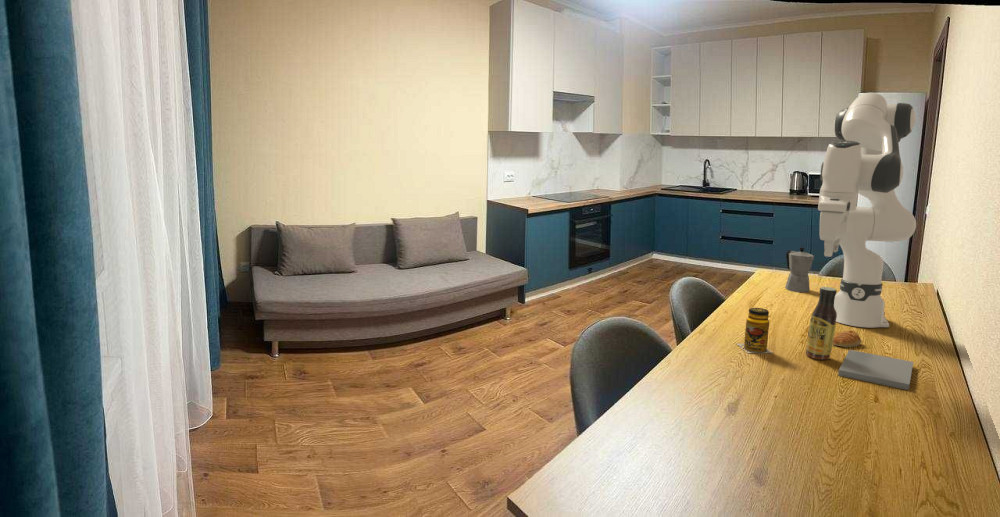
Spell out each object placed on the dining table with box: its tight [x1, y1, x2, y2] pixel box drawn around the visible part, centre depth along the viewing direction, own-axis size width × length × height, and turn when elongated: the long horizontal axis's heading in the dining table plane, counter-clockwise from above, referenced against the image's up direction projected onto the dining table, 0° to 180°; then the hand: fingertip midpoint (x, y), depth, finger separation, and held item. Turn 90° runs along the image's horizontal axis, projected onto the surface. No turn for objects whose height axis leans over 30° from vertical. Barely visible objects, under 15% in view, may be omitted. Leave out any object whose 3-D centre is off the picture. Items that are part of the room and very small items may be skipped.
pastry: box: [832, 329, 863, 348], centre depth 177 cm, size 9×7×4 cm
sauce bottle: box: [805, 286, 838, 361], centre depth 163 cm, size 7×6×20 cm
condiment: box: [735, 307, 774, 354], centre depth 170 cm, size 7×8×12 cm
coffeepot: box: [784, 246, 815, 293], centre depth 246 cm, size 15×9×18 cm, turn 12°
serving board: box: [837, 349, 914, 391], centre depth 155 cm, size 20×15×2 cm
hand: (830, 254), depth 160 cm, fingers open, 8 cm apart
